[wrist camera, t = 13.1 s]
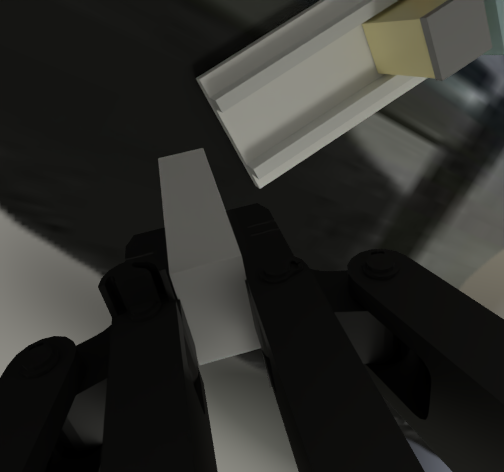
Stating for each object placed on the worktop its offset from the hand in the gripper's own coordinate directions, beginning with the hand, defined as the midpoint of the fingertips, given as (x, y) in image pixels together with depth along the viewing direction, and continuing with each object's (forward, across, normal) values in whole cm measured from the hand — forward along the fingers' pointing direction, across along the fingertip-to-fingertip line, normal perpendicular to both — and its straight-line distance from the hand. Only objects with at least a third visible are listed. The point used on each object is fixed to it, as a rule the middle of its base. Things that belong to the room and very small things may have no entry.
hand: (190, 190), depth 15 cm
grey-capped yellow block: (+29, +22, -2) cm, 36 cm away
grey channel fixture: (+30, +18, -4) cm, 35 cm away
